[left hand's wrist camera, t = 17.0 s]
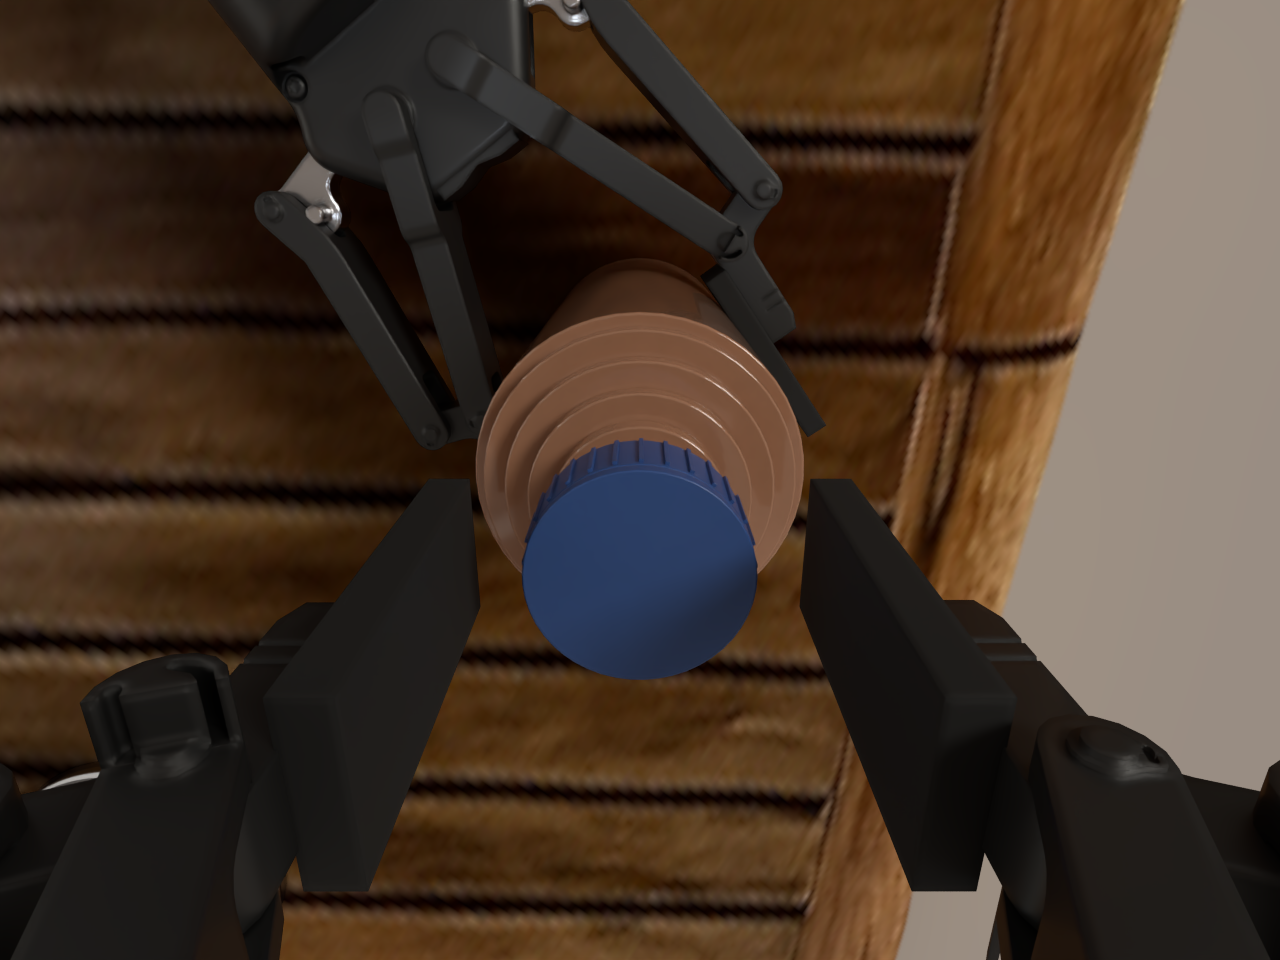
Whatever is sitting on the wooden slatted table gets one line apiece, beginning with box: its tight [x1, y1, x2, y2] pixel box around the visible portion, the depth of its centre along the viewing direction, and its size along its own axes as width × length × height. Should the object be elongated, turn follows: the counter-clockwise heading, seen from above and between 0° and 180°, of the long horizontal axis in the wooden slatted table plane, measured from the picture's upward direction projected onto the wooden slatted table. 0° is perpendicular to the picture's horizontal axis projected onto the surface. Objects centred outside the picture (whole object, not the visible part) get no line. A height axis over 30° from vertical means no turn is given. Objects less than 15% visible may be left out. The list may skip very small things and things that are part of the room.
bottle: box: [476, 258, 804, 574], centre depth 23 cm, size 8×8×21 cm
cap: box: [522, 438, 758, 680], centre depth 14 cm, size 4×4×2 cm
